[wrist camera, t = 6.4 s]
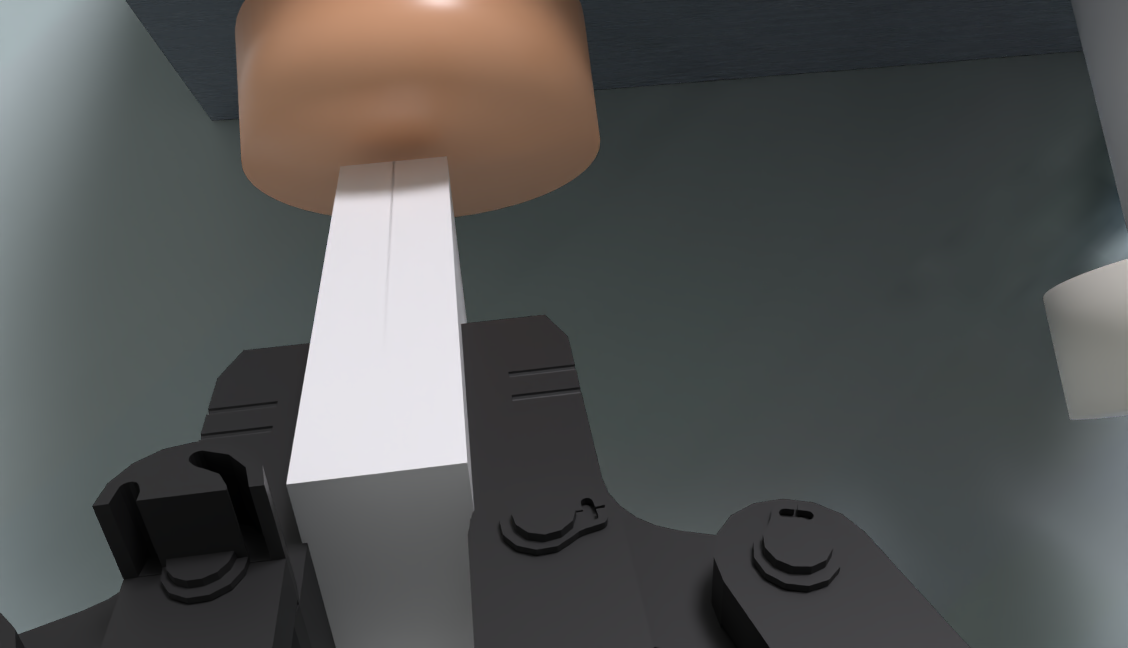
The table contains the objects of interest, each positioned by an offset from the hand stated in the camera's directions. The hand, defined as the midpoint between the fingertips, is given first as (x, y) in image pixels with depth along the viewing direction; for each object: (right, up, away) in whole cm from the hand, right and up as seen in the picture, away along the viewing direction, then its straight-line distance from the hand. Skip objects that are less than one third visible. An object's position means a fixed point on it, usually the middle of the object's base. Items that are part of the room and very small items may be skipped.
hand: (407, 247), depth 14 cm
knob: (0, +5, +4) cm, 7 cm away
